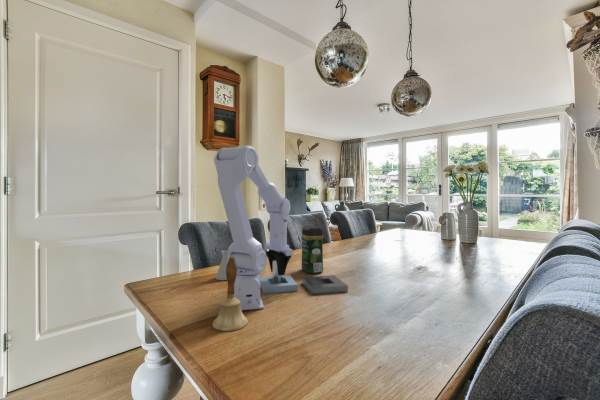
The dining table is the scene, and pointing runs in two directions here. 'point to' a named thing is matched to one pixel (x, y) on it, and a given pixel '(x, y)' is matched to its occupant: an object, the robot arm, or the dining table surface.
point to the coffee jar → (312, 249)
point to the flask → (223, 266)
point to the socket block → (324, 284)
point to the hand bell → (230, 304)
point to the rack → (278, 285)
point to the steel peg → (276, 274)
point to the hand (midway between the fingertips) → (277, 273)
